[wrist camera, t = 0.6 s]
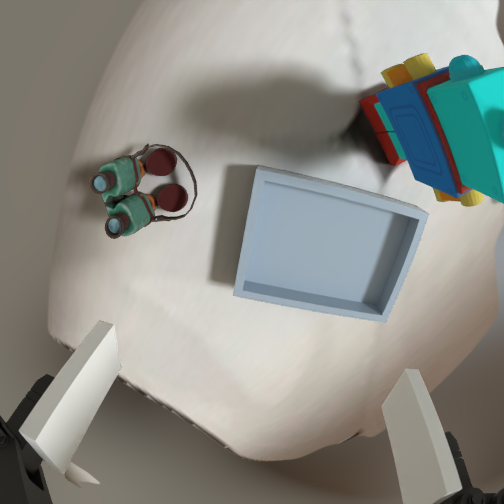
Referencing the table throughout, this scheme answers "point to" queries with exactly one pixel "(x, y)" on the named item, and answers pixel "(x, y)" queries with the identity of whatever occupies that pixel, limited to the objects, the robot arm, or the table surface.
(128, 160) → the binoculars
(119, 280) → the table surface
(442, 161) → the toy robot
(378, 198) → the light blue rectangular tray
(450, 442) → the robot arm
